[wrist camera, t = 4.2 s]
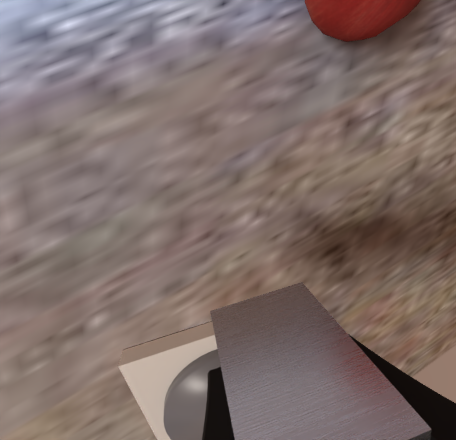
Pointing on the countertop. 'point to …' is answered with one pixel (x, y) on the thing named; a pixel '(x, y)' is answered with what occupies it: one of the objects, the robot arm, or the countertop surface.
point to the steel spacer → (304, 375)
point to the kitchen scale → (173, 380)
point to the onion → (357, 16)
